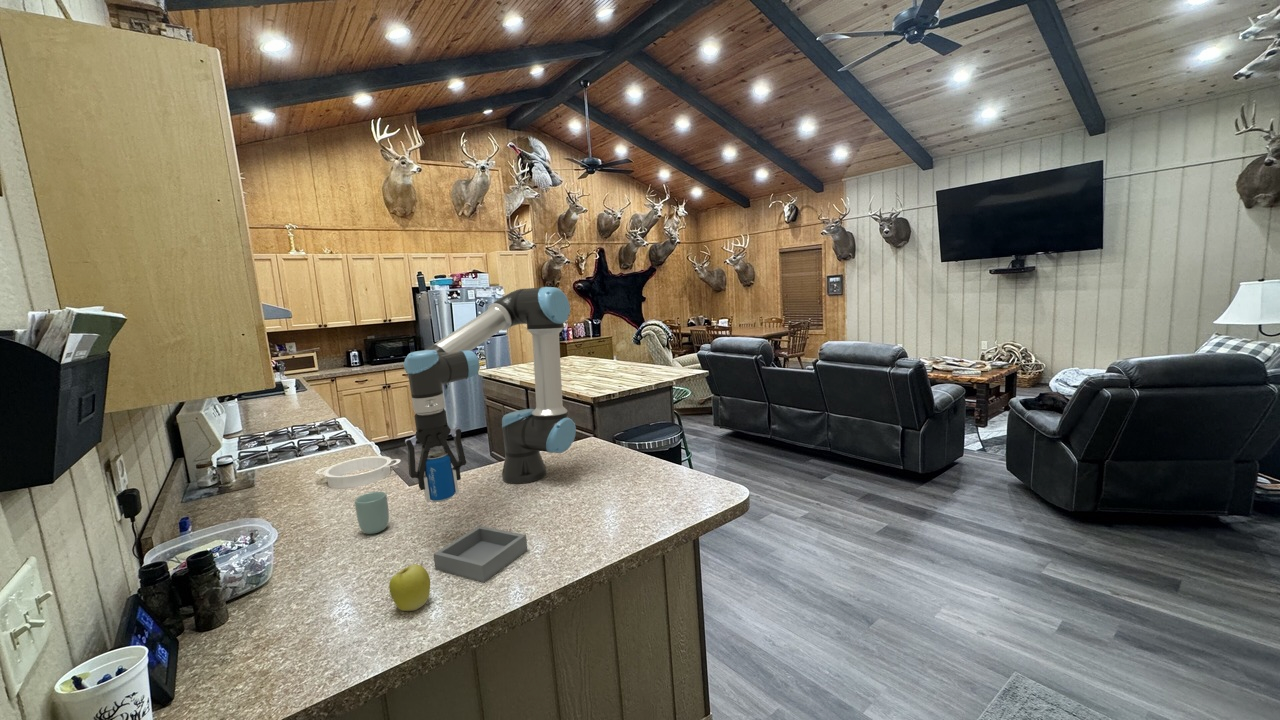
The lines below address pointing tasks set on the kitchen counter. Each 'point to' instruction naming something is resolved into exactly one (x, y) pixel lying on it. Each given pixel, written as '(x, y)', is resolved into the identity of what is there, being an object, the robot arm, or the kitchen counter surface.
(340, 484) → the oval baking dish
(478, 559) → the bin
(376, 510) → the cup
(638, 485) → the kitchen counter surface
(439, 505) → the kitchen counter surface
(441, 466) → the beverage can
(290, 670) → the kitchen counter surface
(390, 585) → the apple
